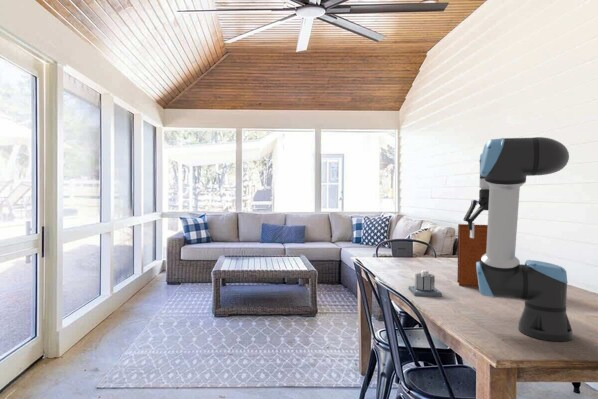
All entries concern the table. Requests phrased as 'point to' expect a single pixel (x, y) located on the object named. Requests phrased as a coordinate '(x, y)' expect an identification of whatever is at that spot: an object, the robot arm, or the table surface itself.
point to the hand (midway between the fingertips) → (488, 238)
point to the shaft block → (424, 292)
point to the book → (470, 253)
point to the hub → (424, 282)
